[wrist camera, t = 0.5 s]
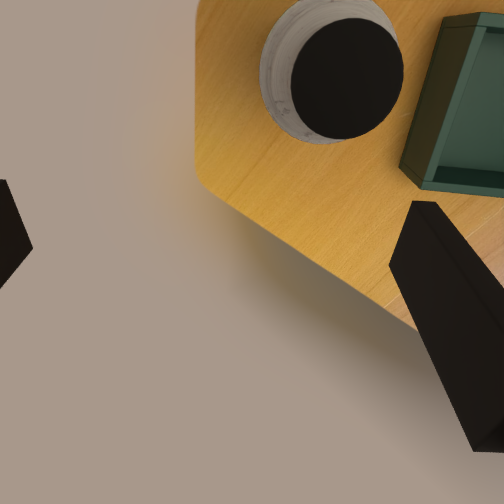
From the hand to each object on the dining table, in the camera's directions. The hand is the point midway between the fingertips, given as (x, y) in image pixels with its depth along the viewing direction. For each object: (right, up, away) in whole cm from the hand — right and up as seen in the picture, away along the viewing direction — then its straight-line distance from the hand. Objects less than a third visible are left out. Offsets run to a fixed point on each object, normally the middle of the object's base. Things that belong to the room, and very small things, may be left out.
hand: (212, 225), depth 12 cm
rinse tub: (+28, +16, +29) cm, 44 cm away
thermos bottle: (+7, +21, +28) cm, 35 cm away
